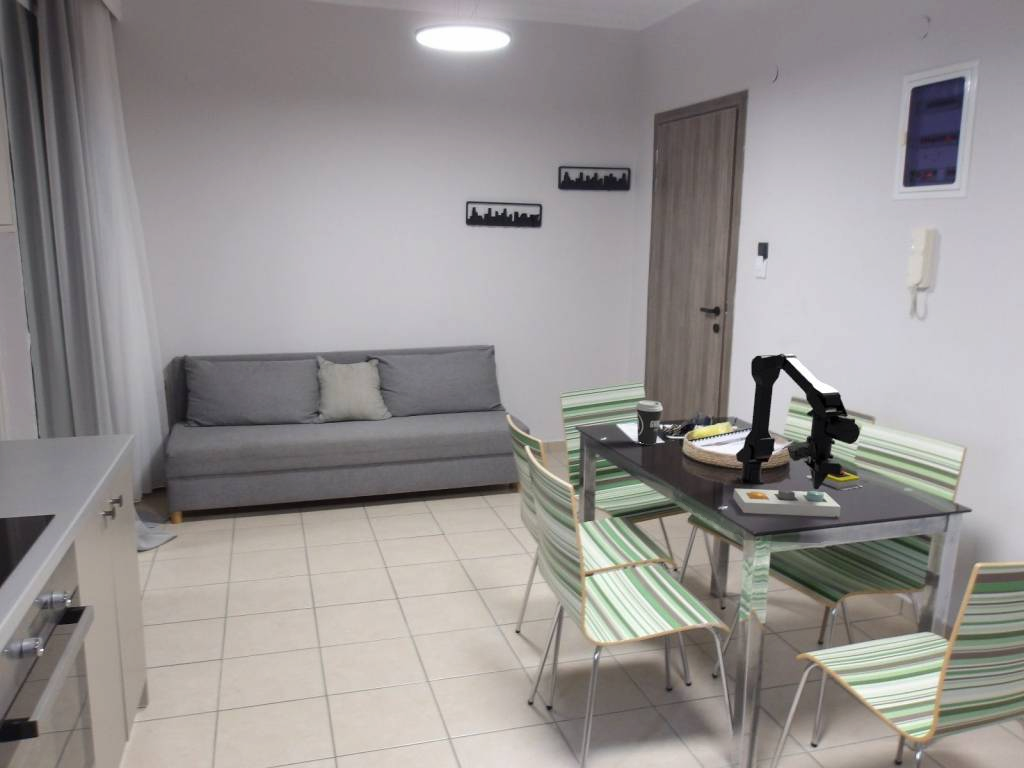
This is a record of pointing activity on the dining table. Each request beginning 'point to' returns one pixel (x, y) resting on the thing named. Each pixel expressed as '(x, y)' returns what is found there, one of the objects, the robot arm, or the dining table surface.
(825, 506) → the button panel
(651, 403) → the coffee cup
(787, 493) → the charcoal button
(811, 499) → the teal button
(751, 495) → the orange button
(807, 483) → the dining table surface
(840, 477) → the emergency button
